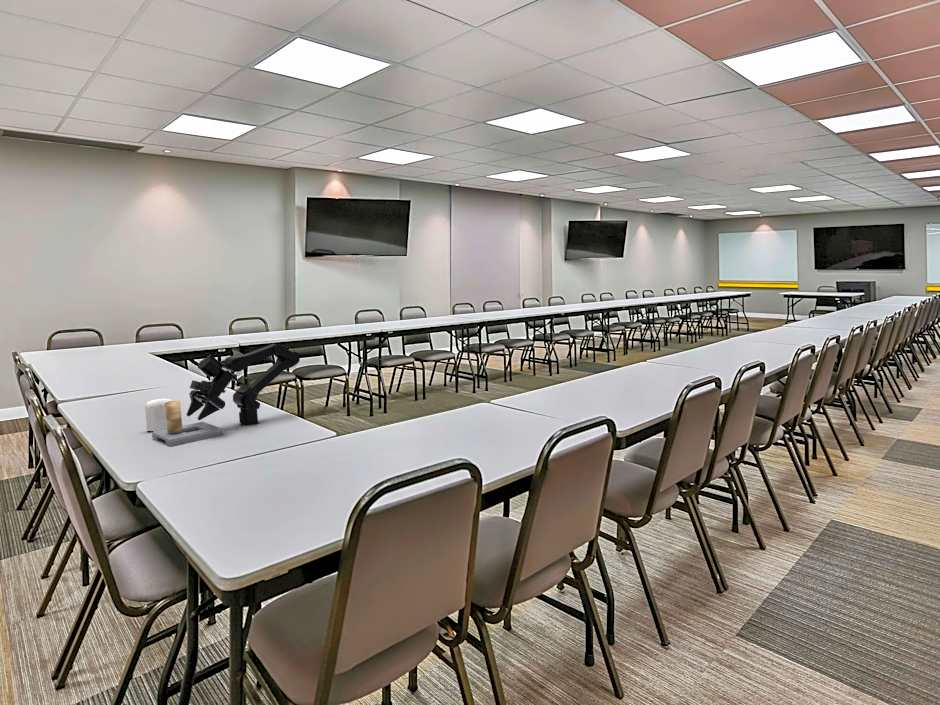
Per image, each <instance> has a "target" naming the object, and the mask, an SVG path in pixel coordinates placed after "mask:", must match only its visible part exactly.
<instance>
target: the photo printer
mask: <svg viewBox="0 0 940 705" xmlns="http://www.w3.org/2000/svg"><path fill="white" fill-rule="evenodd" d="M169 401H174V400H173V399H171V398H157V399H152V400H149V401H147V402H146V403H145V406H144V407H145V408H144V410H145V423H146V431H153V432H154V431H159V430H164V429H167V422H166V411H165V403H166V402H169Z"/></svg>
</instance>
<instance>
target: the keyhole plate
mask: <svg viewBox="0 0 940 705" xmlns="http://www.w3.org/2000/svg"><path fill="white" fill-rule="evenodd" d="M182 430H183V431H182V432H179V433H177V434H172V433H167V429H164V430H159V431H153V432H151V437H152V438H154V439H153V440H155V439H156V440H155V441H159V440H158V439H161V440H163V441H165V445H166V444H167V445H166V446H168V445H169V446H168V447H170V446H171V447H174V446H173V445H175V446H178V445H177V444H180V445H183V444H182V443H184V444H188V442H189V443H192V441H193V442H196V441H197V440H198V441H201V440H206V439H211V438H215V437H220V436H223V434H224V432H223V428H222V427H219V426H216V425H214V424H210V423H208V422H205V421H200V422H194V423H190V424H185V425H182ZM198 441H197V442H198Z"/></svg>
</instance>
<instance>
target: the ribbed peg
mask: <svg viewBox="0 0 940 705" xmlns="http://www.w3.org/2000/svg"><path fill="white" fill-rule="evenodd" d="M165 411H166V422H167V433H172V434H177V433H179V432H182V431H183V430H182V426H183V420H182V419H183V418H182V408H181V401H180V400H173V401H169V402H166V403H165Z"/></svg>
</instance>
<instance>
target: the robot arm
mask: <svg viewBox="0 0 940 705" xmlns="http://www.w3.org/2000/svg"><path fill="white" fill-rule="evenodd" d="M272 356H275V357H276V361H275V363H274V364H273V365H272V366H270V367H269V368H268V369H266V371H265V372H263V373H262V374H261V375H260V376H259V377H257V378H256V379H255V380H254V381H253V382H251V383H250V384H249V385H248V384H247V385H246V384H241V385H240V387H239V388H238V389H235V390H234V391H235V392H234V393H233V395H232V401H233V403H234V404H235V405H236V406H237V409H238V408H239V410H240V411H238V417H239V418H238V419H239V420H238V422H239V424H241V426H247V425H248V426H249V425H258V424H259V418H258V410H260V407H261V402H259V401H257V399H258V396H259V395H260V393H261V392H262V390H264V389H265V388H266V387H267V386H268V385H269V384H271V382H273V381H274V380H275V379H276V378H278V376H279V375H281V373H283V372H284V371H286V370H288V369H289V370H290V369H291V368H294V367H295V366H296V365H297V364H299V362H300V359H301V357H300V354H299V352H297V351H294V350H290V349H287V348H286V347H283V346H281V345H280V344H277V343H276V344H275V343H270V344H269V345H267V346H264V347H261V348H259V349H255V350H253V351H250V352H247V353H245V354H244V353H243V354H235V355H230V356H227V357H226V358H225V359H224V360H223V359H222V360H221V361H219V360H218V359H216V357H215V356H214V355H212V354H209V355H208V356H207V357H206V356H205V357H204V358H203V359H202V360H200V361H199V363H198V365H197V369H199V371H201V372H202V373H203V374H205V375H206V376H208V377H209V378H212V377H213V378H212V380H211V381H206V380H201V381H198V380H194V379H192V380H191V383H190V385H189V389H191V391H190V392H189V394H188V395H189V398H190V404H189V407H188V410H187V412H186V416H187V417H190V416H192V415H193V414H195V413H196V412H197V411H198V410H200V409H201V408H202V410H201V411H200V412H199V414H198V417H197V418H196V419H197V420H198V421H202V420H203V419H205V418H207V417H208V416H210V415H212V414H214V413H216V412H218V411H220V410H223V409H224V408H225V407H226V402H225V400H223V399H222V398H221V397H220V396H221V395H222V394H225V393H226V390H225V389H226V388H227V387H228V385H230V383H231V381H234V382H238V379H239V378H238V374H237V373H239V372H242V371H243V370H245V369H247V368H248V367H249V366H250V365H251V364H254V363H255V362H258V361H261V360H263V359H265V358H266V359H267V358H268V357H272ZM225 369H226V370H225ZM233 372H235V373H233Z"/></svg>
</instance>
